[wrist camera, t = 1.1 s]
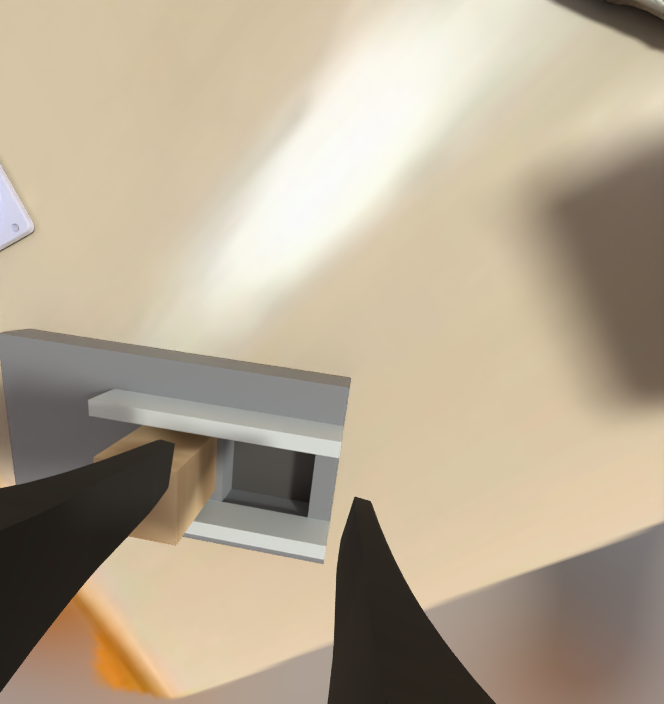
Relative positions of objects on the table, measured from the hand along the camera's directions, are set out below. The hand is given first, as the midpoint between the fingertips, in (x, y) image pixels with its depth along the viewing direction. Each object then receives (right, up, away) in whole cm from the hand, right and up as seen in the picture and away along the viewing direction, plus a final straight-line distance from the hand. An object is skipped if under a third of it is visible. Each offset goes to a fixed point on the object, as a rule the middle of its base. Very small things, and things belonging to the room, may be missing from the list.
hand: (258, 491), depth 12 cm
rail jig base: (-8, -1, +11) cm, 14 cm away
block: (-7, -2, +9) cm, 12 cm away
